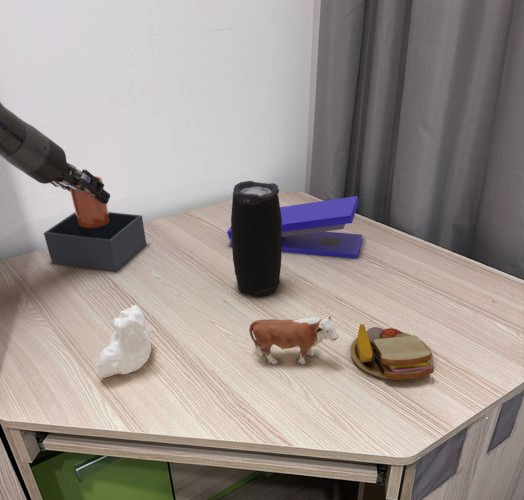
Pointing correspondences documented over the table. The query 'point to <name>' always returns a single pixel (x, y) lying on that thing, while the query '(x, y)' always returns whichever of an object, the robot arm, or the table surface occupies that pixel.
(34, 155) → the robot arm
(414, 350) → the toy sandwich meal
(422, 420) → the table surface
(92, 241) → the tub
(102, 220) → the rice cup
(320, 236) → the stapler
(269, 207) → the portable speaker
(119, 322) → the bust
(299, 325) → the bull figurine
